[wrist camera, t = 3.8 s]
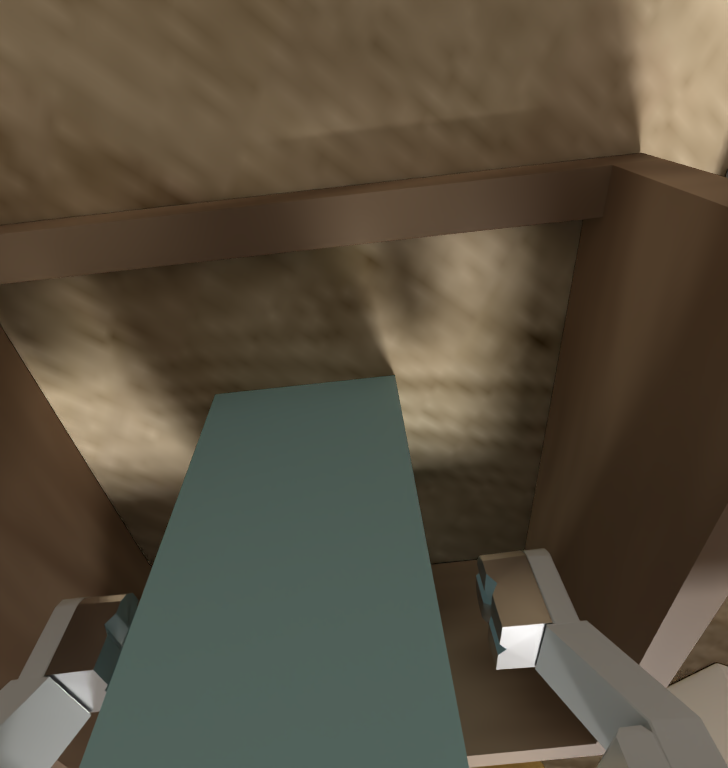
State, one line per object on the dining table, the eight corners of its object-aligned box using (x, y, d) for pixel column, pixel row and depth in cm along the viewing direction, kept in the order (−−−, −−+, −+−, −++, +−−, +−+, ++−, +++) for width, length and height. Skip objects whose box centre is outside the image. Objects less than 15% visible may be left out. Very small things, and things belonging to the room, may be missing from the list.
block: (394, 374, 13) (477, 811, 5) (402, 496, 15) (463, 889, 8) (215, 394, 13) (47, 852, 5) (256, 511, 16) (185, 914, 8)
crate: (641, 152, 10) (959, 245, 5) (545, 567, 18) (623, 752, 13) (-105, 236, 10) (-544, 410, 5) (149, 607, 18) (82, 804, 14)
